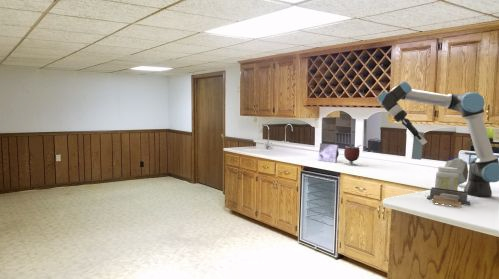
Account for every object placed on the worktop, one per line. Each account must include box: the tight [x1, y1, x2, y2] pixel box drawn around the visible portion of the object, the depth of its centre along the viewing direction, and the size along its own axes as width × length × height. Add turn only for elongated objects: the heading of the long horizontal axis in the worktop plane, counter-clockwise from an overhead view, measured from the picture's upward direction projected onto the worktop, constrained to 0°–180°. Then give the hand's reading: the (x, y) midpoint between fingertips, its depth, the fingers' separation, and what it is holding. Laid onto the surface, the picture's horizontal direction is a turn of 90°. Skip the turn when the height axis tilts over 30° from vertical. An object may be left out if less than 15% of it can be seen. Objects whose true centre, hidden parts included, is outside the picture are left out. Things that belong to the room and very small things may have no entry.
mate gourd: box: [343, 144, 362, 167], centre depth 362 cm, size 16×14×20 cm
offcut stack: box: [432, 193, 462, 208], centre depth 203 cm, size 8×13×5 cm, turn 59°
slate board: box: [411, 131, 425, 160], centre depth 226 cm, size 3×5×16 cm, turn 60°
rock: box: [444, 157, 469, 186], centre depth 273 cm, size 27×6×20 cm, turn 1°
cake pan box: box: [318, 143, 340, 164], centre depth 380 cm, size 19×5×18 cm, turn 58°
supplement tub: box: [434, 166, 459, 191], centre depth 230 cm, size 12×12×17 cm
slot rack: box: [426, 186, 471, 206], centre depth 213 cm, size 8×21×6 cm, turn 59°
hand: (425, 143), depth 224 cm, fingers closed on slate board, 3 cm apart
